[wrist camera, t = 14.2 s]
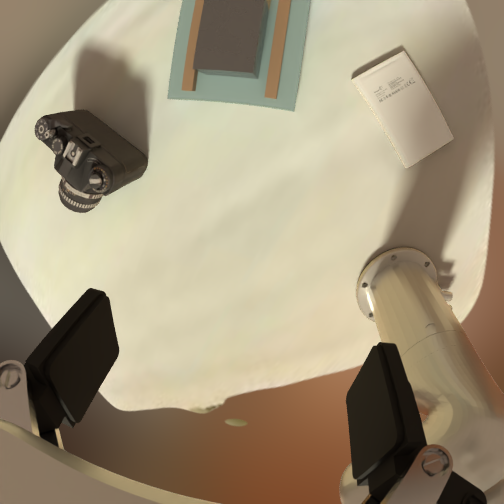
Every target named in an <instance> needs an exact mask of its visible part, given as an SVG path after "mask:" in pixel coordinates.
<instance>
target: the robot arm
mask: <svg viewBox="0 0 504 504" xmlns="http://www.w3.org/2000/svg"><path fill="white" fill-rule="evenodd" d="M392 255H393V256H392ZM356 297H357V301H358V305H359V307H360V310H361V311H362V313H363V314H364V315H365V316H366V317H367V318H368V319H370V320H372V321H373V322H376V325H377V328H378V332H379V335H380V338H381V341H382V342H379V343H378V345H377V346H373V347H372V349H371V351H370V353H369V355H368V357H367V359H366V360H365V362H364V364H363V366H362V368H361V370H360V372H359V374H358V375H357V377H356V379H355V380H354V382H353V384H352V386H351V387H350V389H349V391H348V393H347V397H346V404H347V413H348V424H349V435H350V446H351V459H352V463H351V464H350V465H349V466H348V467H347V468H346V470H345V471H344V473H343V475H342V478H341V482H340V498H341V502H342V504H504V394H503V393H502V391H501V390H500V388H499V387H498V386H497V384H496V383H495V381H494V380H493V378H492V377H491V375H490V374H489V372H488V371H487V369H486V367H485V366H484V364H483V362H482V360H481V359H480V357H479V356H478V354H477V352H476V350H475V348H474V347H473V345H472V343H471V342H470V340H469V338H468V336H467V335H466V333H465V331H464V330H463V328H462V326H461V325H460V323H459V321H458V320H457V318H456V316H455V315H454V313H453V311H452V306H451V305H448V304H447V302H446V301H451V299H452V292H448V291H442V290H441V289H440V287H439V286H438V284H437V272H436V269H435V266H434V264H433V263H432V261H431V260H430V259H429V257H428V256H427V255H425V254H424V253H423V252H421V251H419V250H417V249H413V248H409V247H401V248H396V249H392V250H389V251H386V252H384V253H382V254H381V255H379V256H377V257H376V258H375V259H374V260H372V261H371V262H370V263H369V264H368V266H367V267H366V268H365V269H364V271H363V272H362V274H361V276H360V278H359V281H358V284H357V289H356ZM118 355H119V346H118V341H117V337H116V332H115V327H114V322H113V317H112V311H111V305H110V300H109V298H108V297H107V296H106V293H105V292H103V291H100V290H96V289H93V288H89V289H88V290H87V291H86V292H85V293H84V294H83V295H82V296H81V297H80V298H79V299H78V301H77V302H76V303H75V304H74V305H73V306H72V307H71V308H70V309H69V310H68V312H67V313H66V314H65V315H64V316H63V317H62V318H61V319H60V320H59V322H58V323H57V324H56V325H55V326H54V327H53V328H52V330H51V331H50V332H49V333H48V334H47V336H46V337H45V338H44V339H43V340H42V341H41V343H40V344H39V345H38V346H37V347H36V349H35V350H34V351H33V352H32V354H31V355H30V356H29V357H28V359H27V360H26V363H25V365H24V366H23V365H22V364H21V363H20V362H18V361H15V360H8V361H5V362H2V363H1V364H0V504H220V503H214V502H209V501H205V500H200V499H196V498H191V497H187V496H183V495H179V494H175V493H172V492H168V491H165V490H161V489H158V488H155V487H152V486H148V485H145V484H142V483H139V482H137V481H134V480H131V479H128V478H125V477H123V476H120V475H118V474H115V473H113V472H110V471H108V470H105V469H103V468H101V467H98V466H96V465H94V464H91V463H89V462H87V461H85V460H82V459H81V458H79V457H76V456H75V455H73V454H70V453H68V452H66V451H64V449H63V445H62V441H61V437H60V432H59V426H60V424H61V423H64V424H66V425H68V426H70V427H72V428H73V427H74V425H75V423H79V422H80V421H81V420H82V418H83V416H84V414H85V412H86V411H87V409H88V407H89V405H90V403H91V402H92V400H93V398H94V396H95V395H96V393H97V391H98V390H99V388H100V386H101V384H102V383H103V381H104V379H105V378H106V376H107V374H108V372H109V371H110V369H111V367H112V366H113V364H114V362H115V361H116V359H117V357H118ZM419 413H421V414H424V415H426V416H428V417H427V418H426V420H425V421H424V422H423V423H422V422H421V418H420V414H419Z"/></svg>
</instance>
